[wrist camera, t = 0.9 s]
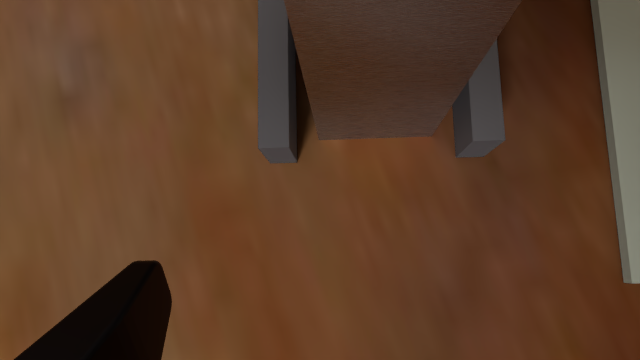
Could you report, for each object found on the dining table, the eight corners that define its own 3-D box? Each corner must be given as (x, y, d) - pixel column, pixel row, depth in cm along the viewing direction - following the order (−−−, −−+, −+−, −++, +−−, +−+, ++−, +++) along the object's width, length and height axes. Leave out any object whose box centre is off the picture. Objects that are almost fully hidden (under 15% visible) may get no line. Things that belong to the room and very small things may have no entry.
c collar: (483, 156, 21) (505, 139, 18) (270, 163, 22) (258, 148, 19) (470, -17, 23) (488, -58, 20) (269, -7, 23) (258, -45, 20)
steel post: (431, 136, 22) (574, -80, 8) (319, 139, 22) (267, -62, 8) (425, 30, 23) (545, -332, 9) (316, 35, 23) (267, -308, 9)
